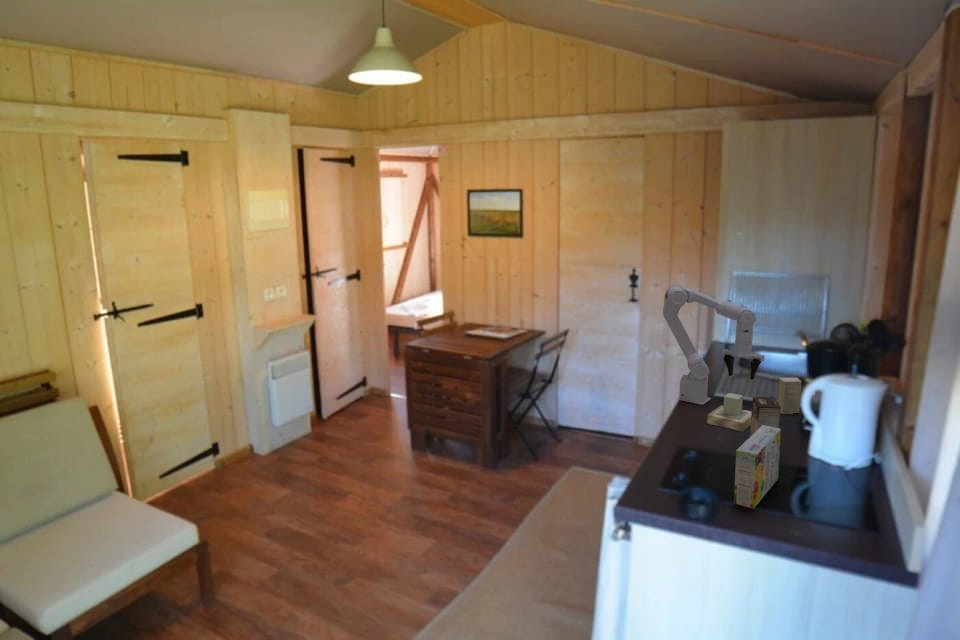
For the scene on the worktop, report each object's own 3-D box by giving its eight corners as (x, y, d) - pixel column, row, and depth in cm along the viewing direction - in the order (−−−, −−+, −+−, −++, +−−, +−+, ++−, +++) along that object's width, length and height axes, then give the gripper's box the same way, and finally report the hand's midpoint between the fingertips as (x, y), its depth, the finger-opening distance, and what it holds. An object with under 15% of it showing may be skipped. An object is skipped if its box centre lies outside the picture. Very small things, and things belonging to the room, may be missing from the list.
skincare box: (794, 410, 232) (797, 377, 230) (799, 414, 228) (802, 381, 225) (776, 409, 233) (778, 377, 230) (780, 414, 229) (783, 380, 226)
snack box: (757, 474, 184) (761, 423, 181) (778, 479, 181) (783, 428, 178) (731, 504, 168) (735, 449, 165) (754, 510, 165) (758, 454, 162)
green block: (723, 413, 222) (724, 396, 221) (728, 409, 225) (729, 392, 224) (736, 416, 219) (737, 399, 218) (741, 412, 222) (742, 395, 221)
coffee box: (748, 444, 204) (751, 395, 201) (770, 446, 203) (774, 396, 199) (754, 457, 195) (758, 405, 192) (777, 458, 194) (781, 406, 191)
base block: (707, 423, 222) (707, 414, 221) (720, 413, 231) (721, 404, 230) (743, 431, 214) (743, 422, 214) (755, 420, 223) (756, 412, 222)
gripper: (719, 340, 239) (717, 376, 241) (761, 346, 230) (758, 383, 232) (726, 336, 244) (724, 371, 247) (767, 342, 235) (764, 378, 238)
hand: (741, 377), depth 240 cm, fingers open, 7 cm apart
